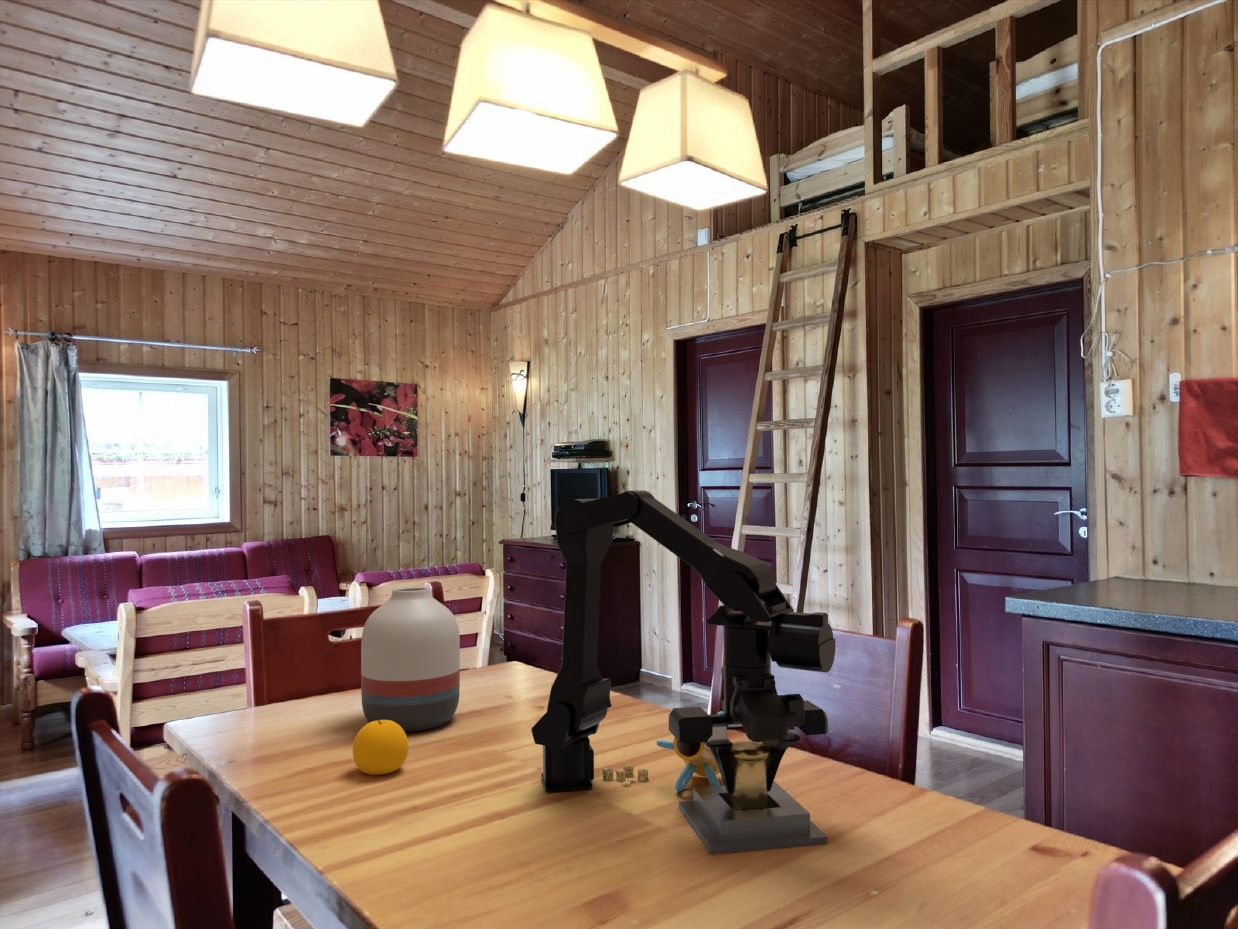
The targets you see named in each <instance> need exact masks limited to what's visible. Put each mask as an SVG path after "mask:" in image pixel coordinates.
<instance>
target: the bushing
mask: <svg viewBox="0 0 1238 929" xmlns="http://www.w3.org/2000/svg"><path fill="white" fill-rule="evenodd" d="M732 743H733V746H732V749H731V764H732V776H733V794H731V809H732V810H733V811H743V810H755V809H767V758H769V757H770V747H769V746H768V745H766V744H763V743H762V742H753V741H751V740H741V741H740V740H738V741H734V742H732Z"/></svg>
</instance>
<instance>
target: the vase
mask: <svg viewBox="0 0 1238 929" xmlns="http://www.w3.org/2000/svg"><path fill="white" fill-rule="evenodd" d="M460 637H461V635H460V629H459V625H458V622H457V618H456V617H455V616H454V613H453V612H452V611H451V610H450V609H449V608H448V607H447V606H445V605H444V604H443V603H441V602H439V600H437V599H435V597H433V595H432V594H431V592H430V588H428V587H424V586H423V587H421V586H410V587H408V586H407V587H406V586H405V587H399V588H394V589H392V593H391V596H390V598H388V600H386V601H385V602H384V603H382V605H380V606H379V607H378V608H376V609H375V610H374V611H373V612H372V613H371V614H370V615H369V616H368V618H367V619H366V622H365V623H364V626H363V629H362V633H361V641H360V642H361V643H360V644H361V645H360V649H361V650H360V654H361V655H360V657H361V658H360V660H361V662H360V663H361V664H360V666H361V667H360V671H361V672H360V677H361V678H360V680H361V682H360V684H361V686H360V687H361V691H360V692H361V707H362V712H363V715H364V717H365V719H366V721H367V722H368V723H370V722H372V721H377V720H391V721H393V722H395V723H397V724H398V725H400V726H401V727H402V729H403V730H404V732H405V733H412V732H420V731H421V732H422V731H426V730H430V729H435V728H437V727H440V726H442V725H444V724H446V723H447V722H449V721H450V720H451V719H452V718H454V715H455V714H456V712H457V709H458V706H459V703H460V687H461V684H460V682H461V678H460V675H461V674H460V672H461V668H460V666H461V661H460V660H461V656H460V655H461V654H460V653H461V651H460V649H461V648H460V646H461V644H460V643H461V641H460Z"/></svg>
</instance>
